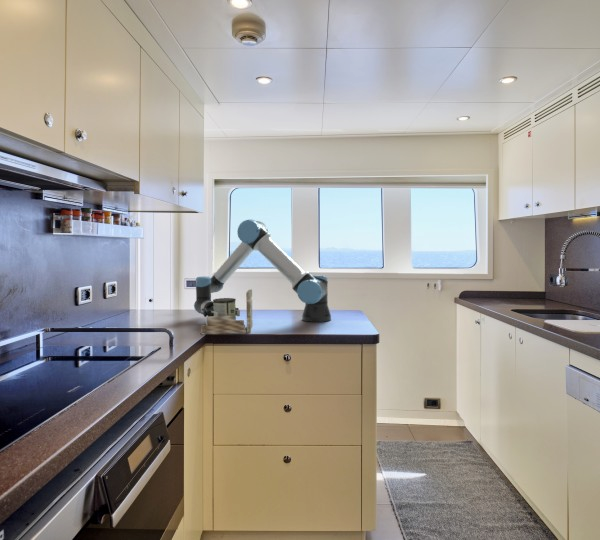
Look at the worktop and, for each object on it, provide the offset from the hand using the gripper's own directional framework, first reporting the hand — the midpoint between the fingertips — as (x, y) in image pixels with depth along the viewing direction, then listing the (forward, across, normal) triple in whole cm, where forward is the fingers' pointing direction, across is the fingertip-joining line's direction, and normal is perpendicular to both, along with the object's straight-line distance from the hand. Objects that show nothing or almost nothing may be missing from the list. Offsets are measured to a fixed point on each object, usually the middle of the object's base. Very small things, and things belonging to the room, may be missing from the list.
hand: (228, 314), depth 189 cm
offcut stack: (+4, +4, -6) cm, 8 cm away
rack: (-2, 0, -8) cm, 8 cm away
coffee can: (-4, 0, -8) cm, 9 cm away
